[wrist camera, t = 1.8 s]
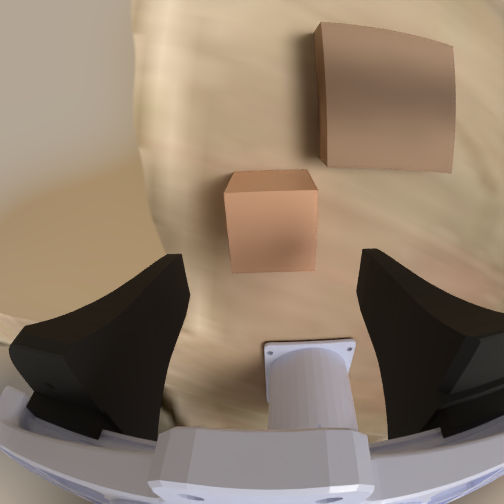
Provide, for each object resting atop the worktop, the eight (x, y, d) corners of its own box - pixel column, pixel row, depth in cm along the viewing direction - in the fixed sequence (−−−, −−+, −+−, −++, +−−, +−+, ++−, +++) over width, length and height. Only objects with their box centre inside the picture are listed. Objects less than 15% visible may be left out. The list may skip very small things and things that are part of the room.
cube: (306, 234, 20) (315, 270, 16) (239, 236, 20) (232, 272, 16) (307, 169, 18) (317, 190, 14) (234, 171, 18) (223, 193, 14)
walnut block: (429, 162, 17) (451, 173, 14) (318, 156, 17) (327, 167, 15) (429, 50, 13) (452, 46, 10) (312, 34, 14) (321, 21, 11)
